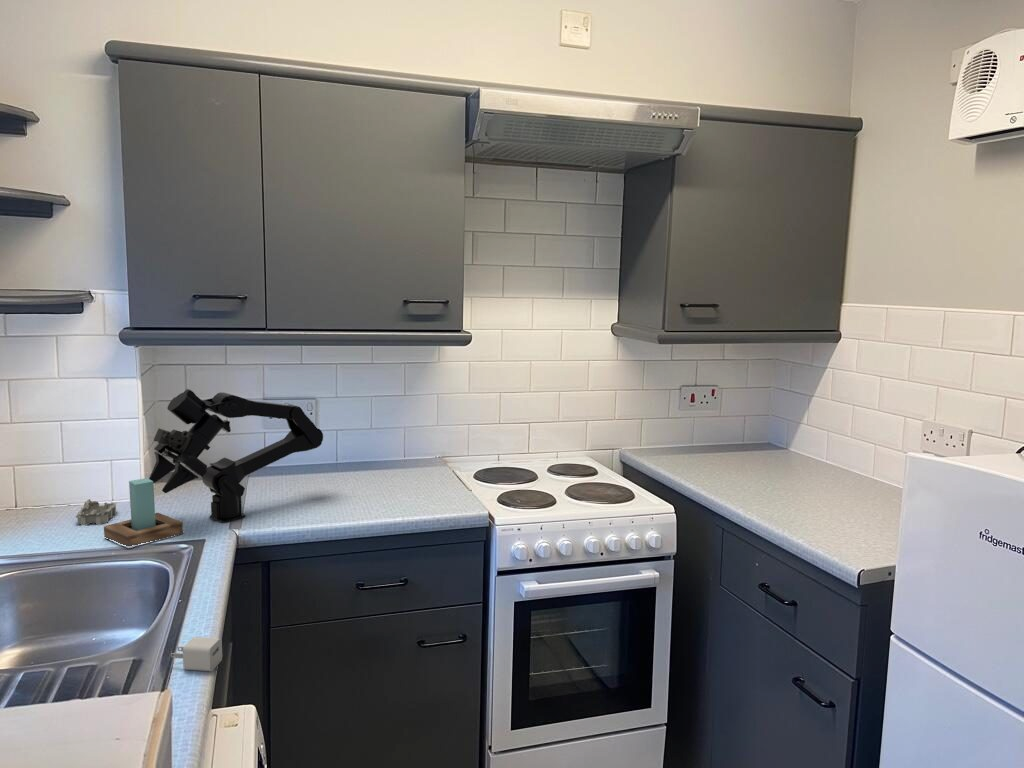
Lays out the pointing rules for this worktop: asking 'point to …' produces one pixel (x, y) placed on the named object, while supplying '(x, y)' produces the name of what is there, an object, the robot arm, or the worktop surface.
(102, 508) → the miniature castle
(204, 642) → the usb wall charger
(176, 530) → the walnut box
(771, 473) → the worktop surface
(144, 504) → the teal post
